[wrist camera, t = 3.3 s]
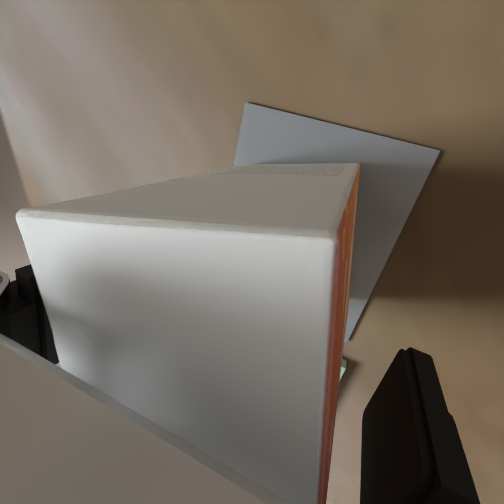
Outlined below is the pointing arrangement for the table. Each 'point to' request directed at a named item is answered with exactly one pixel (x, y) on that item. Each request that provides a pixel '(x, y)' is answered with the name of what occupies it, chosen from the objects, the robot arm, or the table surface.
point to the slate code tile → (369, 188)
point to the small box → (211, 308)
